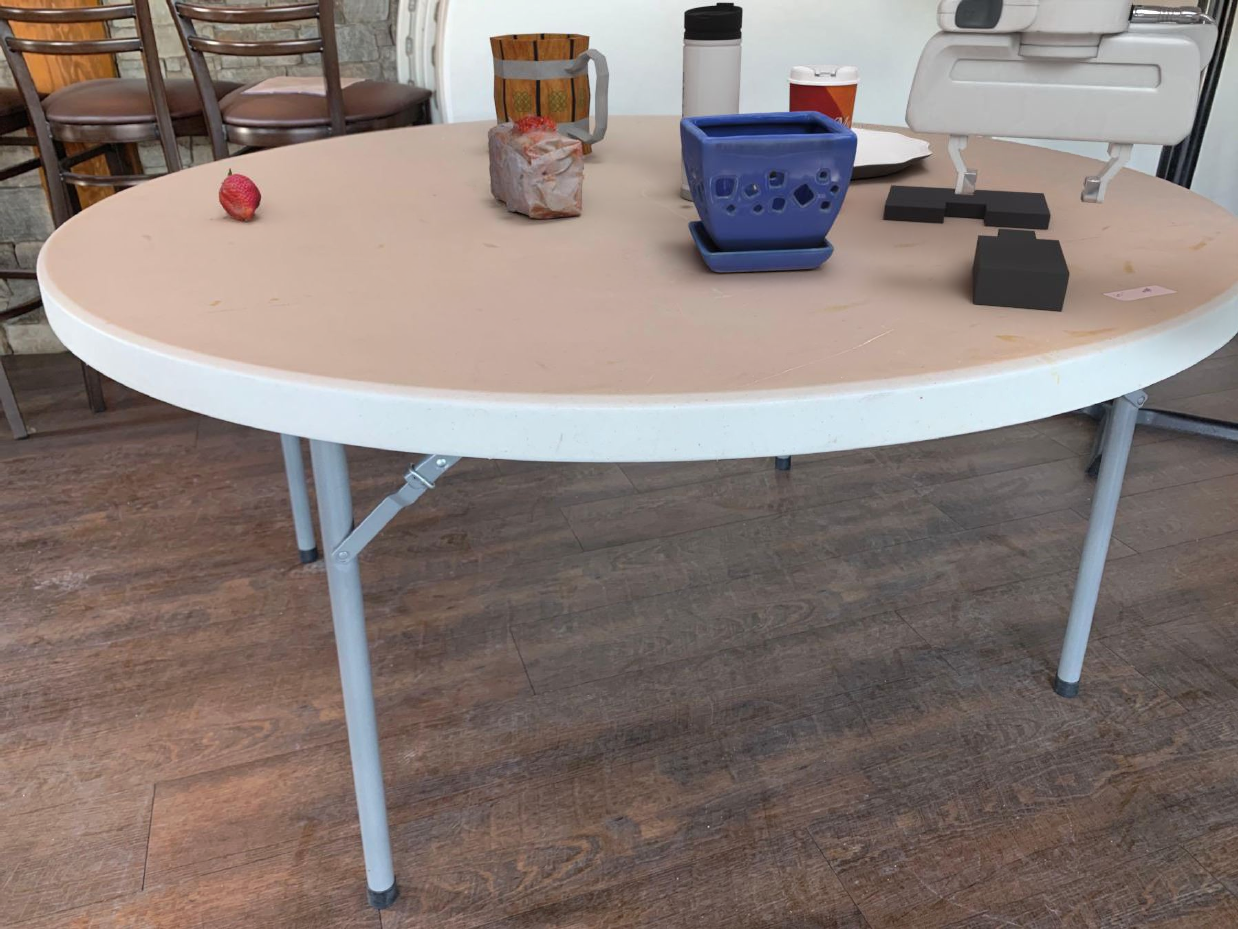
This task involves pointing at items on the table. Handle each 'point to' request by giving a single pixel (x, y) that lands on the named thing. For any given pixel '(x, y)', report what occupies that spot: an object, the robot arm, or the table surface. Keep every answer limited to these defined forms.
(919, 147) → the plate
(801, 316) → the table surface
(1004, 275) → the black block
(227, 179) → the fruit
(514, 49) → the mug
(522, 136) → the wrapped gift box
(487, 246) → the table surface
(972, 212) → the charcoal pad
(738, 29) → the travel mug
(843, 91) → the paper cup
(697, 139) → the flower pot
